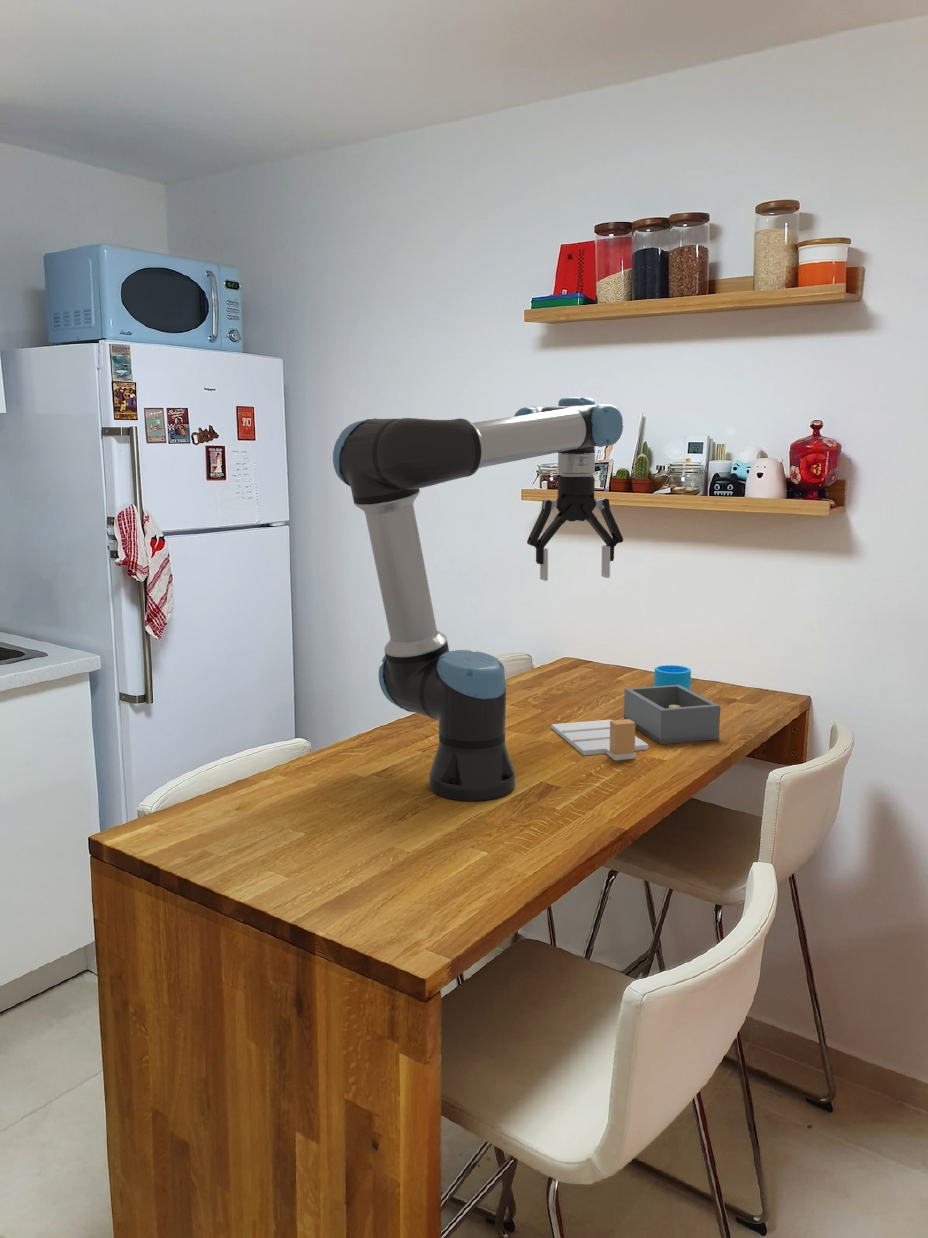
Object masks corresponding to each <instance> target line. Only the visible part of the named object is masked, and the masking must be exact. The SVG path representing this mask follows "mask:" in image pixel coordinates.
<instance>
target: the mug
mask: <svg viewBox="0 0 928 1238" xmlns="http://www.w3.org/2000/svg"><path fill="white" fill-rule="evenodd" d="M691 674H692V669H691V668H689V667H687V666H684V665H674V664H670V665H669V664H667V665H658V666H655V667H654V679H653V681H654V685H653V687H654V686H667V685H681V686H683V687H685V688H687V689H689V690H691V679H692V678H691V676H692V675H691Z"/></svg>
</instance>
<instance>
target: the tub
mask: <svg viewBox="0 0 928 1238" xmlns="http://www.w3.org/2000/svg"><path fill="white" fill-rule="evenodd" d="M623 702H624V703H623V720H625V719H630V720H632V721H633V722H635V729H637V730H639V732H641V733H642V734H645V736H647V737H649V738H651V740H653V741H655V742H656V743H658V744H659V745H666V744H667V745H668V744H678V743H679V744H680V743H689V742H690V743H691V742H701V741H711V740H712V741H713V740H719V739H720V723H721V705H720V704H718V703H716V702H714V701H711V700H710V699H708V698H706V697H704V696H702V695H700V694H698V693H696V692H694V691H692V690H691V689H690V690H689V689H687V688H685V687H683V686H681V685H667V686H654V685H653V686H645V687H643V686H642V687H631V688H630V687H628V688H624V697H623Z"/></svg>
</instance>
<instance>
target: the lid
mask: <svg viewBox="0 0 928 1238" xmlns="http://www.w3.org/2000/svg"><path fill="white" fill-rule="evenodd" d="M550 725H551V729H552V730H553V732H555V733H556V734H558V735H559V736H560V737H561V738H562V739H564V741H566V742H567V743H568V744H570V746H572V747H573V748H574V749H576V751H578V752H579V753H580V754H582V756H592V755H604V754H606V755H607V756H608V757H610V758H611V759H612V760H614V761H622V760H636V758H637V753H636V752H635V751H646V750H647V751H648V750H649V744H648V743H647V742H645V741H644V740H642V739H641V738H639V737H638V736H636V728H635V722H633V721H632V720H630V719H625V720H624V719H615V720H613V719H600V720H588V721H576V722H566V723H565V722H564V723H563V722H562V723H552V724H550Z"/></svg>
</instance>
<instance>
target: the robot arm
mask: <svg viewBox="0 0 928 1238" xmlns="http://www.w3.org/2000/svg"><path fill="white" fill-rule="evenodd" d="M623 421H624V420H623V415H622V413H621V412H620V410H619V409H618V408H617V407H616V406H614V405H612V404H602V403H597V404H596V402H595V400H594V399H593V398H591V397H563V398H560V399H559V401H558V406H557V405H556V406H543V407H542V406H532V405H531V406H529V407H528V406H526V407H522V408H521V407H520V408H519V409H518V410H517V411H516V412H515V414H514V415H513V416H510V417H509V416H508V417H504V418H502V417H501V418H496V419H489V420H483V421H475V422H471V421H470V420H468V419H466V418H461V417H460V418H455V419H453V418H452V419H427V418H415V417H413V418H411V417H403V418H376V417H374V418H370V419H369V418H367V419H363V420H359V421H356V422H355V421H354V422H353V423H351V424H349V425H348V426H346V427H345V428H344V429H343V430H342V431H341V433H340V434H339V435H338V438H337V439H336V441H335V443H334V446H333V450H332V464H333V468H334V471H335V473H336V476H337V477H338V478H339V480H340V481H342V482H343V483H344V484H345V485H346V486H348V487H350V491H351V494H352V495H351V496H352V500H353V504H354V506H355V507H357V508H358V509H360V510H361V511H363V512H364V514H365V520H366V524H367V529H368V535H369V539H370V540H369V541H370V545H371V550H372V554H373V559H374V565H375V569H376V574H377V578H378V584H379V589H380V593H381V599H382V603H383V609H384V612H385V618H386V624H387V627H388V629H387V630H388V633H389V640H388V642H387V643H386V644H385V646H384V648H383V649H384V656H383V658H382V660H381V662H382V664H381V665H380V666H379V668H378V684H379V686H380V689H381V691H382V694H383V695H384V696H385V698H386V700H388V701H389V702H390V703H391V704H393V705H394V706H397V707H398V708H400V709H401V710H404V711H406V712H408V713H409V712H410V713H416V714H419V715H422V716H425V717H427V718H430V719H433V720H436V721H438V746H437V749H436V753H435V756H434V759H433V762H432V765H431V769H430V770H429V771H430V772H429V788H430V790H431V791H432V792H433V793H434V794H436V795H437V796H440V797H443V798H446V799H451V800H454V801H467V802H469V801H470V802H471V801H472V802H473V801H476V802H478V801H488V800H494V799H498V798H501V797H504V796H506V795H508V794H510V793H512V792H513V790H515V787H516V773H515V770H514V767H513V764H512V761H511V760H512V759H511V757H510V755H509V752H508V749H507V745H506V711H507V710H506V709H507V708H506V707H507V706H506V705H507V703H506V702H507V700H506V699H507V697H506V696H507V681H506V673H505V672H506V671H505V666H504V664H503V663H502V661H501V660H500V659H498V657H496V656H493V655H491V654H488V653H486V652H482V651H472V650H468V649H458V650H455V649H454V650H450V649H449V647H450V646H449V643H448V642H449V641H448V637H447V635H446V634H444V633H443V632H441V631H440V630H438V629H437V624H436V619H435V614H434V608H433V603H432V598H431V592H430V586H429V580H428V575H427V571H426V567H425V560H424V555H423V554H424V553H423V548H422V544H421V539H420V534H419V529H418V528H419V527H418V523H417V518H416V512H415V507H414V503H415V500H416V499H417V498H418V496H419V495H420V493H421V492H420V491H421V490H420V489H424V488H427V487H428V488H429V487H432V486H435V485H439V484H444V483H446V482H451V481H453V480H454V481H455V480H458V479H463V478H467V477H471V476H473V475H475V474H476V473H477V472H478V470H479V469H482V468H486V467H491V466H495V465H501V464H507V463H511V462H516V461H522V460H527V459H532V458H536V457H537V458H538V457H542V456H547V455H552V454H557V473H558V475H559V474H560V476H558V478H557V498H556V500H550V499H543V500H542V504H541V510H540V512H539V515H538V517H537V519H536V521H535V523H534V526H533V527H532V530H531V532H530V534H529V536H528V538H527V540H526V544H527V545H529V546H531V547H534V548H535V562H536V564H537V565H539V566H540V567H539V579H540V580H542V581H546V582H547V581H548V579H549V578H548V577H549V562H548V561H549V554H548V553H549V549H548V548H546V545H547V544H548V543H549V542H550V540H551V539H552V538H553V537H554V535H555V534H556V533H557V531H558V530H559V529H560V528H561V526H563V524H565V523H566V521H568V522H575V521H579V522H584V521H586V522H587V523H588V524H589V525H591V527H592V529H593V530H594V531H595V532H596V533H597V534H598V536H599V537H600V538H601V540H602V541H603V542H604V543H605V544H606V545H601V574H600V575H601V577H603V578H606V579H607V578H610V576H611V573H610V572H611V562H614V560H615V547H616V546H617V544H620V543H623V541H624V537H623V536H622V533H621V531H620V529H619V526H618V524H617V521H616V519H615V517H614V515H613V513H612V510H611V506H610V500H609V498H607V497H606V498H605V497H601V498H600V499H596V498H595V489H596V487H595V485H596V484H595V480H596V479H595V477H594V476H592V475H593V474H595V471H596V467H595V466H596V462H595V461H596V447H598V448H604V447H607V446H612V445H616V443H617V442H618V441H619V440H620V438H621V437H622V434H623V429H624V425H623V424H624V422H623ZM596 506H597V509H598V510H600V513H601V516H602V517H603V519H604V522H605V524H606V526H607V529H608V531H609V532H610V533H609V532H608V531H607V530H606V528H605V527H604V526H603V524H602V523H601V522H600V521H599V520H598V517H597V516H596V515H595V514H594V512H593V511H594V509H595V508H596ZM555 508H556V509H557V511H558V513H557V514H556V515H555V516H554V520H553V521H552V522H551V523H550V525H548V527H547V528H546V530H545V531H544V532H543V530H544V528H545V526H546V523H547V521H548V519H549V517H550V515H551V512H553V511H554V509H555ZM542 532H543V533H542ZM541 534H542V535H541Z"/></svg>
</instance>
